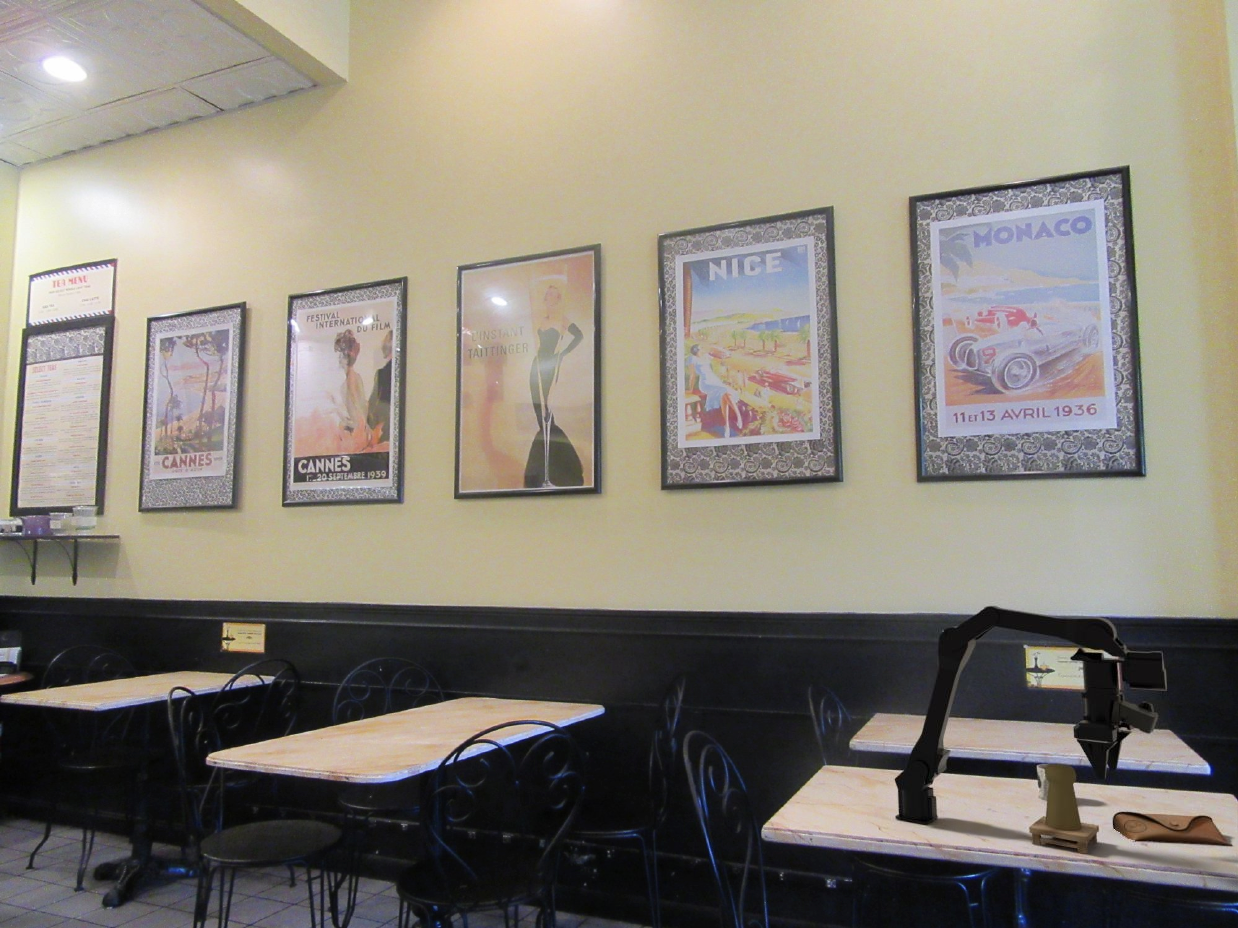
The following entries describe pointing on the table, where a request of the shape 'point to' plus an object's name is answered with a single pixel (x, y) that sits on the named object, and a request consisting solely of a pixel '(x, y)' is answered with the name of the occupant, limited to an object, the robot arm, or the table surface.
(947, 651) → the robot arm
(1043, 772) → the mug
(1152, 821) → the sunglasses case
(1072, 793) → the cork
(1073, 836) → the footstool
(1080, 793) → the table surface
